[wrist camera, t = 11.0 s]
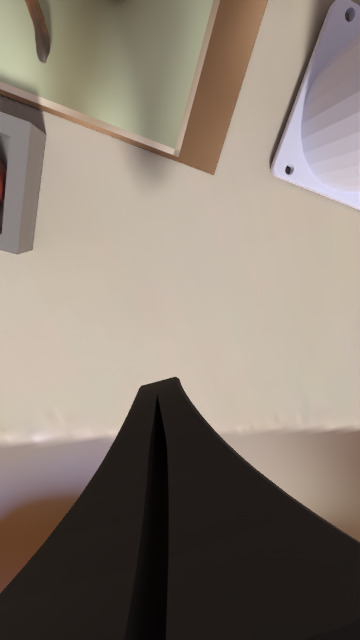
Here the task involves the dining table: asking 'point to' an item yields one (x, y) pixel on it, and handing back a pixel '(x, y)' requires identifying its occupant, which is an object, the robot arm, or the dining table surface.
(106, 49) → the picture sheet
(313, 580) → the robot arm
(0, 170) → the button
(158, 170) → the dining table surface
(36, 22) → the lion figurine
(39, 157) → the button housing
